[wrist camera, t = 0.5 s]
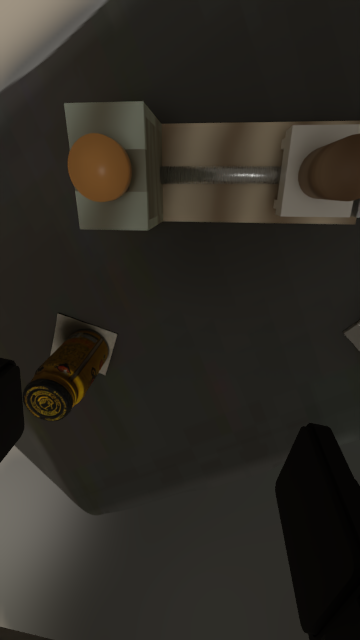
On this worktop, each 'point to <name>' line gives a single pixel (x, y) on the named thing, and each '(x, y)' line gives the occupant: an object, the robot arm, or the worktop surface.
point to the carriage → (319, 171)
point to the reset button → (99, 167)
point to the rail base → (230, 155)
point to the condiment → (68, 368)
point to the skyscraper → (354, 334)
